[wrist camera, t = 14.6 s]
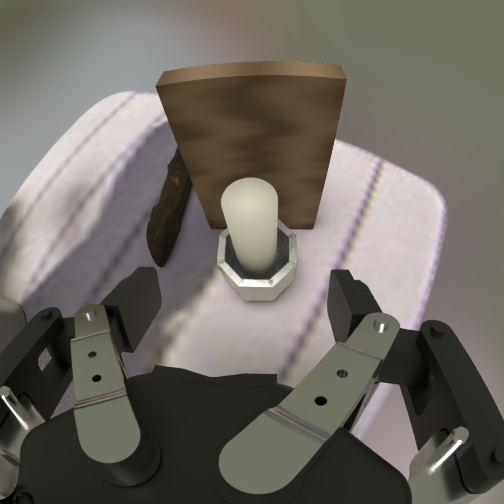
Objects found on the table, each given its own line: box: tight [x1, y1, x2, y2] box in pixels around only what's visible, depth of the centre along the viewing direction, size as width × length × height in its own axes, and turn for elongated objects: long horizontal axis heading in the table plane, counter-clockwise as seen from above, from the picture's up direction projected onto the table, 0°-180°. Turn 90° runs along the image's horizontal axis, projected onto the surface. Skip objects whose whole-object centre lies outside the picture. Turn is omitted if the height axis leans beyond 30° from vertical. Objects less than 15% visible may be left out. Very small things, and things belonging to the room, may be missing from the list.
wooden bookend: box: [156, 61, 347, 229], centre depth 25 cm, size 12×6×20 cm, turn 88°
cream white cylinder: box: [221, 178, 278, 280], centre depth 22 cm, size 4×4×12 cm
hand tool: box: [146, 147, 191, 267], centre depth 33 cm, size 19×4×5 cm, turn 171°
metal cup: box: [217, 219, 297, 301], centre depth 27 cm, size 7×9×5 cm
